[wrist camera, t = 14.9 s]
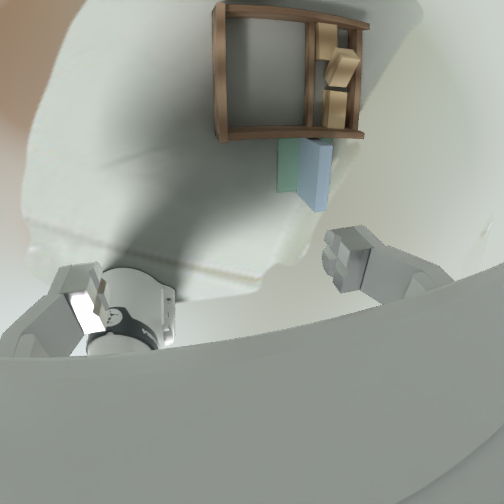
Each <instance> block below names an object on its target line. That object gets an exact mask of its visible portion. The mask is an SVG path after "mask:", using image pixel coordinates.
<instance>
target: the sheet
mask: <svg viewBox="0 0 504 504" xmlns="http://www.w3.org/2000/svg"><path fill="white" fill-rule="evenodd" d="M332 153H333V146H332V145H330V144H329V143H327V142H325V141H323V140H321V139H319V138H300V152H299V171H298V188H297V194H298V195H299V196H300V197H301V198H302V199H303V200H304V202H305V203H306V204H307V205H308V206H309V207H310V208H311V209H312V210H313V211H314V212H321V211H326V210H327V202H328V193H329V184H330V174H331V164H332Z"/></svg>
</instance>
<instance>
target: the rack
mask: <svg viewBox="0 0 504 504" xmlns="http://www.w3.org/2000/svg"><path fill="white" fill-rule="evenodd" d="M225 18H258V19H274V20H285V21H295V22H303V23H305V99H304V125H285V126H250V127H233V128H228V125H227V89H226V37H225ZM318 22H320V23H327V24H333V25H337V28H339V29H344V30H348V49H351V50H354V52H355V53H356V55H357V56H358V57H359V59H360V62H359V63H358V65H357V67H356V69H355V71H354V73H353V75H352V77H351V79H350V81H349V83H348V85H347V104H346V116H345V127H344V129H336V128H326V127H324V126H312V123H313V98H314V56H315V23H318ZM369 29H370V24H369V23H365V22H361V21H357V20H353V19H349V18H345V17H340V16H335V15H330V14H325V13H320V12H314V11H308V10H301V9H293V8H284V7H274V6H261V5H234V4H225V3H216V5H215V7H214V9H213V11H212V57H213V92H214V119H215V136H216V137H217V139H218V140H219V142H220V143H228V141H232V140H247V139H267V138H354V139H364V133H363V132H361V131H358V120H359V107H360V92H361V70H362V30H369Z"/></svg>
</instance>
